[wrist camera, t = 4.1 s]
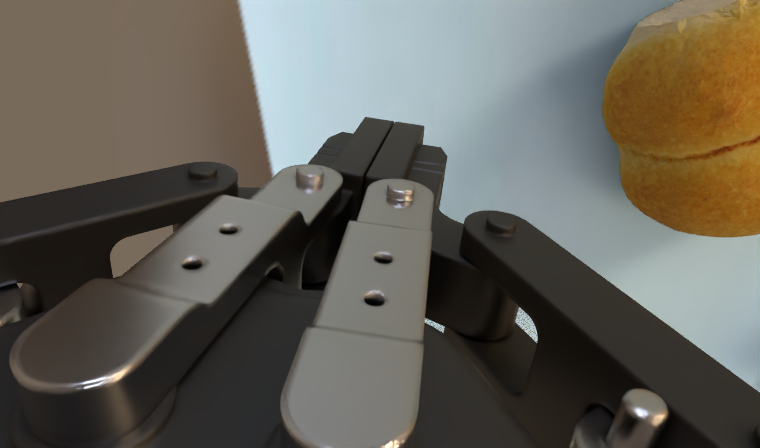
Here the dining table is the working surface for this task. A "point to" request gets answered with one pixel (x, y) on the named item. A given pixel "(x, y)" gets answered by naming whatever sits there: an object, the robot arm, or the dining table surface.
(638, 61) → the bread roll
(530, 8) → the dining table surface
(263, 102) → the dining table surface
